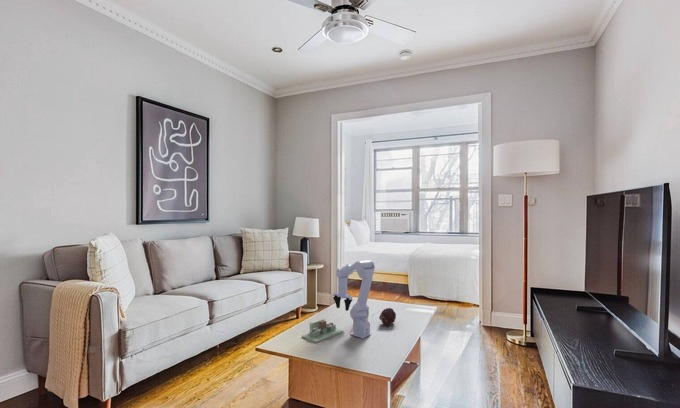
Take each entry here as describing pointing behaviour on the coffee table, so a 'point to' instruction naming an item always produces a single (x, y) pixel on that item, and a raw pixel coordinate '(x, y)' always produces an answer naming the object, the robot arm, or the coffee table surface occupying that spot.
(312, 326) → the mint green baseplate
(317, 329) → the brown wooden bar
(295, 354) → the coffee table surface
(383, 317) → the pine cone
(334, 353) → the coffee table surface
